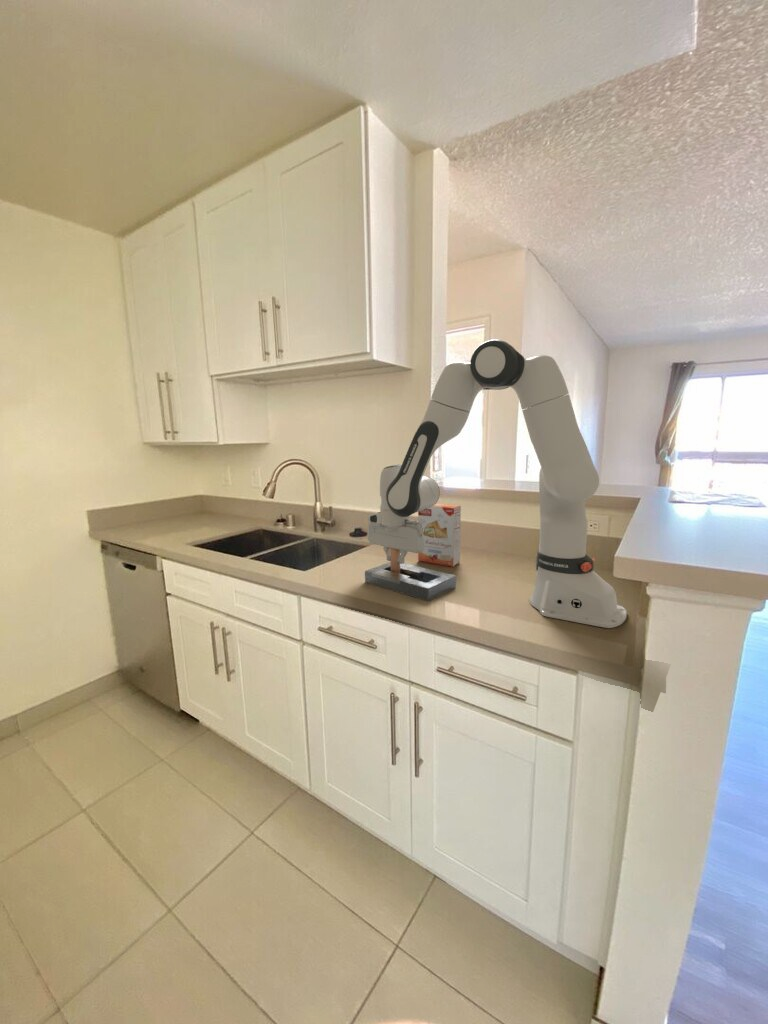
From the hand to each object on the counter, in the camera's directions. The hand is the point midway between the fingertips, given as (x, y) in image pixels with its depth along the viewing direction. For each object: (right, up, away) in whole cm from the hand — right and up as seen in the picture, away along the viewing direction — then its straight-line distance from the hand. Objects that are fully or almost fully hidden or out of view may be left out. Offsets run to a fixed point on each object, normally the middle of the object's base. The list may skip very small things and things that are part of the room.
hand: (395, 561), depth 128 cm
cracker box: (+16, -3, +19) cm, 25 cm away
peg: (0, -5, +1) cm, 5 cm away
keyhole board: (+4, -7, -3) cm, 8 cm away
